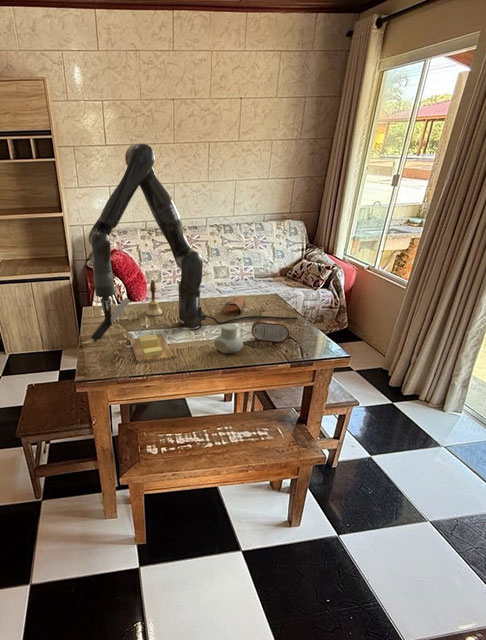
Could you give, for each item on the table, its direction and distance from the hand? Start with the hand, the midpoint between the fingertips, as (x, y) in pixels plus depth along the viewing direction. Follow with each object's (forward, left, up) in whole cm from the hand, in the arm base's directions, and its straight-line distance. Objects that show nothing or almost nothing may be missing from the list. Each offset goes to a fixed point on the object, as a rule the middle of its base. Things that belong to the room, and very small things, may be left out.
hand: (108, 324), depth 168 cm
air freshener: (-44, +24, -7) cm, 50 cm away
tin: (-63, +20, -7) cm, 66 cm away
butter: (-14, +13, -6) cm, 20 cm away
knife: (-2, 0, +1) cm, 2 cm away
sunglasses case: (-63, -19, -7) cm, 66 cm away
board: (-15, +15, -7) cm, 22 cm away
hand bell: (-24, -25, -7) cm, 35 cm away
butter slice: (-14, +20, -5) cm, 25 cm away
